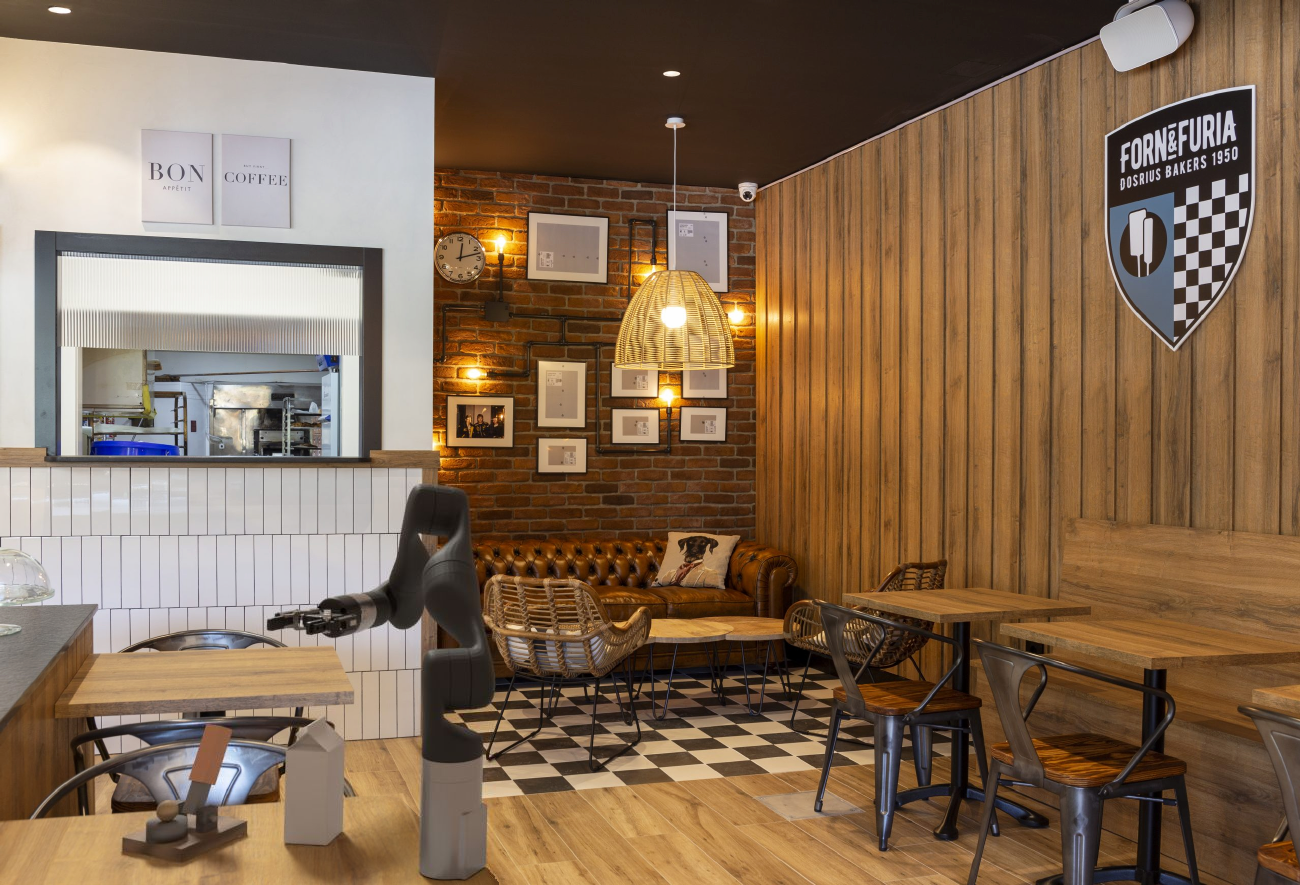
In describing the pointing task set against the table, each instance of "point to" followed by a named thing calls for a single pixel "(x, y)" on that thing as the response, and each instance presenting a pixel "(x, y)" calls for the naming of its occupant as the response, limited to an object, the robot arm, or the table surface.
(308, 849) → the table surface
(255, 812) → the table surface
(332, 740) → the milk carton
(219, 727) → the lever
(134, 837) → the base
